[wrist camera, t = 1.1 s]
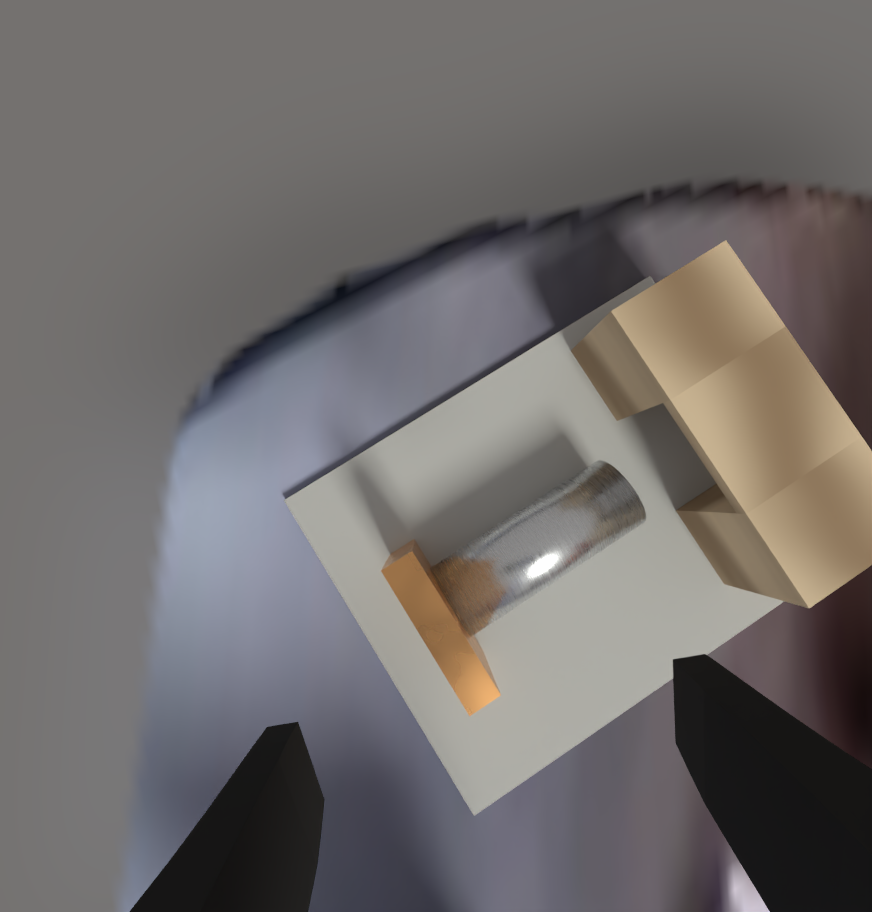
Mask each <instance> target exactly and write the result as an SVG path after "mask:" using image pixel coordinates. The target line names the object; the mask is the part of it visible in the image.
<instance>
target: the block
mask: <svg viewBox="0 0 872 912" xmlns="http://www.w3.org/2000/svg"><path fill="white" fill-rule="evenodd" d="M571 352H572V354H573V355H574V357H575V358H576V360H577V361H578V363H579V364H580V366H581V367H582V369H583V370H584V372H585V373H586V375H587V376H588V378H589V379H590V381H591V383H592V384H593V386H594V387H595V389H596V390H597V392H598V393H599V395H600V396H601V398H602V399H603V401H604V402H605V404H606V405H607V407H608V408H609V410H610V411H611V413H612V414H613V416H614V417H615V419H616V421H618V420H621V419H623V418H626V417H628V416H631V415H634V414H636V413H639V412H641V411H644V410H646V409H649V408H651V407H654V406H656V405H659V404H662V403H663V404H664V405H665V407H666V408H667V410H668V411H669V413H670V414H671V416H672V417H673V419H674V420H675V422H676V423H677V425H678V426H679V428H680V429H681V431H682V432H683V434H684V435H685V437H686V438H687V440H688V441H689V443H690V444H691V446H692V447H693V449H694V450H695V452H696V453H697V455H698V456H699V458H700V459H701V461H702V462H703V464H704V465H705V467H706V468H707V470H708V471H709V473H710V474H711V476H712V477H713V479H714V480H715V482H716V484H715V485H713V486H712V487H710V488H709V489H707V490H706V491H704V492H703V493H701V494H700V495H698V496H697V497H695V498H694V499H692V500H691V501H689V502H688V503H686V504H685V505H683V506H682V507H680V508H679V509H677V510H676V512H677V513H678V515H679V516H680V518H681V519H682V521H683V522H684V524H685V525H686V527H687V529H688V530H689V532H690V533H691V535H692V536H693V538H694V539H695V541H696V542H697V544H698V545H699V547H700V548H701V550H702V551H703V553H704V554H705V556H706V557H707V559H708V560H709V562H710V564H711V565H712V567H713V568H714V570H715V571H716V573H717V574H718V576H719V577H720V579H721V580H722V582H723V583H724V584H725V585H729V586H732V587H736V588H739V589H743V590H746V591H750V592H754V593H757V594H761V595H764V596H768V597H771V598H775V599H778V600H782V601H785V602H789V603H792V604H796V605H799V606H803V607H806V608H811V607H812V606H813V605H815V604H816V603H818V602H819V601H821V600H822V599H823V598H825V597H826V596H828V595H829V594H831V593H832V592H833V591H835V590H836V589H838V588H839V587H841V586H842V585H844V584H845V583H846V582H848V581H849V580H851V579H852V578H854V577H855V576H856V575H858V574H859V573H861V572H862V571H864V570H865V569H866V568H868V567H869V566H871V565H872V451H871V449H870V448H869V446H868V445H867V444H866V442H865V441H864V439H863V438H862V436H861V435H860V433H859V432H858V431H857V429H856V428H855V426H854V425H853V423H852V422H851V420H850V419H849V417H848V416H847V415H846V413H845V412H844V410H843V409H842V407H841V406H840V404H839V403H838V402H837V400H836V399H835V397H834V396H833V394H832V393H831V391H830V390H829V389H828V387H827V386H826V384H825V383H824V381H823V380H822V378H821V377H820V376H819V374H818V373H817V371H816V370H815V368H814V367H813V365H812V364H811V363H810V361H809V360H808V358H807V357H806V355H805V354H804V352H803V351H802V349H801V348H800V347H799V345H798V344H797V342H796V341H795V339H794V338H793V336H792V335H791V334H790V332H789V331H788V329H787V328H786V326H785V325H784V323H783V322H782V321H781V319H780V318H779V316H778V315H777V313H776V312H775V310H774V309H773V308H772V306H771V305H770V303H769V302H768V300H767V299H766V297H765V296H764V295H763V293H762V292H761V290H760V289H759V287H758V286H757V284H756V283H755V281H754V280H753V279H752V277H751V276H750V274H749V273H748V271H747V270H746V268H745V267H744V266H743V264H742V263H741V261H740V260H739V258H738V257H737V255H736V254H735V253H734V251H733V250H732V248H731V247H730V245H729V244H728V242H727V241H724V242H722V243H721V244H719V245H718V246H716V247H714V248H713V249H711V250H709V251H708V252H706V253H705V254H703V255H701V256H700V257H698V258H696V259H695V260H693V261H692V262H690V263H688V264H687V265H685V266H683V267H682V268H680V269H679V270H677V271H675V272H674V273H672V274H670V275H669V276H667V277H666V278H664V279H662V280H661V281H659V282H657V283H656V284H654V285H653V286H651V287H649V288H648V289H646V290H644V291H643V292H641V293H640V294H638V295H636V296H635V297H633V298H631V299H630V300H628V301H627V302H625V303H623V304H622V305H620V306H618V307H617V308H615V309H614V310H612V311H611V312H610V313H609V314H607V315H606V316H605V317H604V318H603V319H602V320H601V321H600V322H599V323H598V324H597V325H596V326H595V327H594V328H593V329H592V330H591V331H590V332H589V333H588V334H587V335H586V336H585V337H584V338H583V339H582V340H581V341H580V342H579V343H578V344H577V345H576V346H575V347H574V348H573V349H572V350H571Z"/></svg>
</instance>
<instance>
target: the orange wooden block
mask: <svg viewBox="0 0 872 912" xmlns="http://www.w3.org/2000/svg"><path fill="white" fill-rule="evenodd" d="M645 521H646V512H645V509H644V506H643V504H642V502H641V500H640V498H639V496H638V494H637V493H636V491H635V490H634V488H633V487H632V486H631V484H630V483H629V482H628V480H627V479H626V478H625V477H624V476H623V475H622V474H621V473H620V472H619V471H618V470H617V469H616V468H615V467H613V466H612V465H610V464H609V463H607V462H605V461H602V460H598V461H596V462H594V463H593V464H591V465H590V466H588V467H586V468H585V469H583V470H582V471H580V472H579V473H577V474H576V475H574V476H572V477H571V478H569V479H568V480H566V481H565V482H563V483H562V484H560V485H558V486H557V487H555V488H554V489H552V490H551V491H549V492H548V493H546V494H544V495H543V496H541V497H540V498H538V499H537V500H535V501H534V502H532V503H530V504H529V505H527V506H526V507H524V508H523V509H521V510H519V511H518V512H516V513H515V514H513V515H512V516H510V517H509V518H507V519H505V520H504V521H502V522H501V523H499V524H498V525H496V526H495V527H493V528H491V529H490V530H488V531H487V532H485V533H484V534H482V535H481V536H479V537H477V538H476V539H474V540H473V541H471V542H470V543H468V544H467V545H465V546H463V547H462V548H460V549H459V550H457V551H456V552H454V553H452V554H451V555H449V556H448V557H446V558H445V559H443V560H442V561H440V562H438V563H437V564H435V565H434V566H432V567H431V565H430V564H429V562H428V560H427V559H426V557H425V556H424V554H423V552H422V551H421V549H420V547H419V546H418V544H417V543H416V541H415V539H413V540H412V541H410V542H408V543H407V544H405V545H404V546H402V547H401V548H399V549H397V550H396V551H394V552H393V553H391V554H390V555H389V557H388V559H387V560H386V562H385V564H384V566H383V568H382V569H381V572H382V574H383V575H384V577H385V579H386V580H387V582H388V584H389V585H390V587H391V588H392V590H393V592H394V593H395V595H396V597H397V598H398V600H399V602H400V603H401V605H402V606H403V608H404V610H405V611H406V613H407V615H408V616H409V618H410V620H411V621H412V623H413V625H414V626H415V628H416V629H417V631H418V633H419V634H420V636H421V638H422V639H423V641H424V643H425V644H426V646H427V647H428V649H429V651H430V652H431V654H432V656H433V657H434V659H435V661H436V662H437V664H438V665H439V667H440V669H441V670H442V672H443V674H444V675H445V677H446V679H447V680H448V682H449V684H450V685H451V687H452V688H453V690H454V692H455V693H456V695H457V697H458V698H459V700H460V702H461V703H462V705H463V706H464V708H465V710H466V711H467V713H468V715H469V716H471V715H472V714H474V713H475V712H477V711H478V710H480V709H481V708H483V707H484V706H486V705H487V704H489V703H490V702H492V701H493V700H495V699H496V698H498V697H499V696H501V694H500V691H499V689H498V686H497V684H496V681H495V679H494V676H493V674H492V672H491V669H490V667H489V664H488V662H487V659H486V657H485V654H484V652H483V649H482V648H481V646H480V645H479V643H478V641H477V640H476V638H475V636H474V635H475V634H476V633H478V632H479V631H481V630H482V629H484V628H485V627H487V626H489V625H490V624H492V623H493V622H495V621H496V620H498V619H499V618H501V617H502V616H504V615H505V614H507V613H508V612H510V611H511V610H513V609H514V608H516V607H517V606H519V605H520V604H522V603H523V602H525V601H526V600H528V599H529V598H531V597H533V596H534V595H536V594H537V593H539V592H540V591H542V590H543V589H545V588H546V587H548V586H549V585H551V584H552V583H554V582H555V581H557V580H558V579H560V578H561V577H563V576H564V575H566V574H567V573H569V572H570V571H572V570H573V569H575V568H577V567H578V566H580V565H581V564H583V563H584V562H586V561H587V560H589V559H590V558H592V557H593V556H595V555H596V554H598V553H599V552H601V551H602V550H604V549H605V548H607V547H608V546H610V545H611V544H613V543H614V542H616V541H617V540H619V539H621V538H622V537H624V536H625V535H627V534H628V533H630V532H631V531H633V530H634V529H636V528H637V527H639V526H640V525H642V524H643V523H645Z"/></svg>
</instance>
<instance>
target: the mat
mask: <svg viewBox="0 0 872 912" xmlns="http://www.w3.org/2000/svg"><path fill="white" fill-rule="evenodd" d="M654 284H655V282H654V281H653V279H652V278H651V277H650V276H649V277H647V278H646V279H644V280H642V281H641V282H639V283H637V284H636V285H634V286H633V287H631V288H629V289H628V290H626V291H624V292H623V293H621V294H619V295H618V296H616V297H615V298H613V299H611V300H610V301H608V302H606V303H605V304H603V305H602V306H600V307H598V308H597V309H595V310H593V311H592V312H590V313H589V314H587V315H585V316H584V317H582V318H580V319H579V320H577V321H575V322H574V323H572V324H571V325H569V326H567V327H566V328H564V329H562V330H561V331H559V332H558V333H556V334H554V335H553V336H551V337H549V338H548V339H546V340H544V341H543V342H541V343H540V344H538V345H536V346H535V347H533V348H531V349H530V350H528V351H527V352H525V353H523V354H522V355H520V356H518V357H517V358H515V359H514V360H512V361H510V362H509V363H507V364H505V365H504V366H502V367H500V368H499V369H497V370H496V371H494V372H492V373H491V374H489V375H487V376H486V377H484V378H483V379H481V380H479V381H478V382H476V383H474V384H473V385H471V386H470V387H468V388H466V389H465V390H463V391H461V392H460V393H458V394H456V395H455V396H453V397H452V398H450V399H448V400H447V401H445V402H443V403H442V404H440V405H439V406H437V407H435V408H434V409H432V410H430V411H429V412H427V413H425V414H424V415H422V416H421V417H419V418H417V419H416V420H414V421H412V422H411V423H409V424H408V425H406V426H404V427H403V428H401V429H399V430H398V431H396V432H395V433H393V434H391V435H390V436H388V437H386V438H385V439H383V440H381V441H380V442H378V443H377V444H375V445H373V446H372V447H370V448H368V449H367V450H365V451H364V452H362V453H360V454H359V455H357V456H355V457H354V458H352V459H351V460H349V461H347V462H346V463H344V464H342V465H341V466H339V467H337V468H336V469H334V470H333V471H331V472H329V473H328V474H326V475H324V476H323V477H321V478H320V479H318V480H316V481H315V482H313V483H311V484H310V485H308V486H306V487H305V488H303V489H302V490H300V491H298V492H297V493H295V494H293V495H292V496H290V497H289V498H287V499H285V500H284V501H285V503H286V505H287V506H288V508H289V509H290V511H291V513H292V514H293V516H294V518H295V519H296V521H297V523H298V524H299V526H300V528H301V529H302V531H303V533H304V534H305V536H306V538H307V539H308V541H309V543H310V544H311V546H312V548H313V549H314V551H315V553H316V554H317V556H318V558H319V559H320V561H321V563H322V564H323V566H324V568H325V569H326V571H327V573H328V574H329V576H330V578H331V579H332V581H333V583H334V584H335V586H336V587H337V589H338V591H339V592H340V594H341V596H342V597H343V599H344V601H345V602H346V604H347V606H348V607H349V609H350V611H351V612H352V614H353V616H354V617H355V619H356V621H357V622H358V624H359V626H360V627H361V629H362V631H363V632H364V634H365V636H366V637H367V639H368V641H369V642H370V644H371V646H372V647H373V649H374V651H375V652H376V654H377V656H378V657H379V659H380V661H381V662H382V664H383V666H384V667H385V669H386V670H387V672H388V674H389V675H390V677H391V679H392V680H393V682H394V684H395V685H396V687H397V689H398V690H399V692H400V694H401V695H402V697H403V699H404V700H405V702H406V704H407V705H408V707H409V709H410V710H411V712H412V714H413V715H414V717H415V719H416V720H417V722H418V724H419V725H420V727H421V729H422V730H423V732H424V734H425V735H426V737H427V739H428V740H429V742H430V744H431V745H432V747H433V748H434V750H435V752H436V753H437V755H438V757H439V758H440V760H441V762H442V763H443V765H444V767H445V768H446V770H447V772H448V773H449V775H450V777H451V778H452V780H453V782H454V783H455V785H456V787H457V788H458V790H459V792H460V793H461V795H462V797H463V798H464V800H465V802H466V803H467V805H468V807H469V808H470V810H471V812H472V813H473V815H474V816H475V815H476V814H478V813H479V812H480V811H482V810H483V809H485V808H486V807H488V806H489V805H491V804H492V803H493V802H495V801H496V800H498V799H499V798H501V797H502V796H504V795H505V794H506V793H508V792H509V791H511V790H512V789H514V788H515V787H517V786H518V785H519V784H521V783H522V782H524V781H525V780H527V779H528V778H530V777H531V776H532V775H534V774H535V773H537V772H538V771H540V770H541V769H543V768H544V767H545V766H547V765H548V764H550V763H551V762H553V761H554V760H556V759H557V758H558V757H560V756H561V755H563V754H564V753H566V752H567V751H569V750H570V749H571V748H573V747H574V746H576V745H577V744H579V743H580V742H582V741H583V740H584V739H586V738H587V737H589V736H590V735H592V734H593V733H595V732H596V731H597V730H599V729H600V728H602V727H603V726H605V725H606V724H608V723H609V722H611V721H612V720H613V719H615V718H616V717H618V716H619V715H621V714H622V713H624V712H625V711H626V710H628V709H629V708H631V707H632V706H634V705H635V704H637V703H638V702H639V701H641V700H642V699H644V698H645V697H647V696H648V695H650V694H651V693H652V692H654V691H655V690H657V689H658V688H660V687H661V686H663V685H664V684H665V683H667V682H668V681H670V680H671V679H673V659H678V658H684V657H690V656H696V655H702V654H706V655H707V654H709V653H710V652H712V651H713V650H715V649H716V648H717V647H719V646H720V645H722V644H723V643H725V642H726V641H728V640H729V639H730V638H732V637H733V636H735V635H736V634H738V633H739V632H741V631H742V630H743V629H745V628H746V627H748V626H749V625H751V624H752V623H754V622H755V621H756V620H758V619H759V618H761V617H762V616H764V615H765V614H767V613H768V612H769V611H771V610H772V609H774V608H775V607H777V606H778V605H780V604H781V603H783V602H784V601H782V600H778V599H775V598H771V597H768V596H764V595H761V594H757V593H754V592H750V591H746V590H743V589H739V588H736V587H732V586H729V585H725V584H724V583H723V582H722V580H721V579H720V577H719V576H718V574H717V573H716V571H715V570H714V568H713V567H712V565H711V564H710V562H709V560H708V559H707V557H706V556H705V554H704V553H703V551H702V550H701V548H700V547H699V545H698V544H697V542H696V541H695V539H694V538H693V536H692V535H691V533H690V532H689V530H688V529H687V527H686V525H685V524H684V522H683V521H682V519H681V518H680V516H679V515H678V513H677V512H676V510H677V509H679V508H680V507H682V506H683V505H685V504H686V503H688V502H689V501H691V500H692V499H694V498H695V497H697V496H698V495H700V494H701V493H703V492H704V491H706V490H707V489H709V488H710V487H712V486H713V485H715V484H716V482H715V480H714V479H713V477H712V476H711V474H710V473H709V471H708V470H707V468H706V467H705V465H704V464H703V462H702V461H701V459H700V458H699V456H698V455H697V453H696V452H695V450H694V449H693V447H692V446H691V444H690V443H689V441H688V440H687V438H686V437H685V435H684V434H683V432H682V431H681V429H680V428H679V426H678V425H677V423H676V422H675V420H674V419H673V417H672V416H671V414H670V413H669V411H668V410H667V408H666V407H665V405H664V404H663V403H662V404H659V405H656V406H654V407H651V408H649V409H646V410H644V411H641V412H639V413H636V414H634V415H631V416H628V417H626V418H623V419H621V420H618V421H616V419H615V417H614V416H613V414H612V413H611V411H610V410H609V408H608V407H607V405H606V404H605V402H604V401H603V399H602V398H601V396H600V395H599V393H598V392H597V390H596V389H595V387H594V386H593V384H592V383H591V381H590V379H589V378H588V376H587V375H586V373H585V372H584V370H583V369H582V367H581V366H580V364H579V363H578V361H577V360H576V358H575V357H574V355H573V354H572V352H571V350H572V349H573V348H574V347H575V346H576V345H577V344H578V343H579V342H580V341H581V340H582V339H583V338H584V337H585V336H586V335H587V334H588V333H589V332H590V331H591V330H592V329H593V328H594V327H595V326H596V325H597V324H598V323H599V322H600V321H601V320H602V319H603V318H604V317H605V316H606V315H607V314H609V313H610V312H611V311H612V310H614V309H615V308H617V307H618V306H620V305H622V304H623V303H625V302H627V301H628V300H630V299H631V298H633V297H635V296H636V295H638V294H640V293H641V292H643V291H644V290H646V289H648V288H649V287H651V286H653V285H654ZM598 460H602V461H605V462H607V463H609V464H610V465H612V466H613V467H615V468H616V469H617V470H618V471H619V472H620V473H621V474H622V475H623V476H624V477H625V478H626V479H627V480H628V482H629V483H630V484H631V486H632V487H633V488H634V490H635V491H636V493H637V494H638V496H639V498H640V500H641V502H642V504H643V506H644V509H645V512H646V521H645V523H643V524H642V525H640V526H639V527H637V528H636V529H634V530H633V531H631V532H630V533H628V534H627V535H625V536H624V537H622V538H621V539H619V540H617V541H616V542H614V543H613V544H611V545H610V546H608V547H607V548H605V549H604V550H602V551H601V552H599V553H598V554H596V555H595V556H593V557H592V558H590V559H589V560H587V561H586V562H584V563H583V564H581V565H580V566H578V567H577V568H575V569H573V570H572V571H570V572H569V573H567V574H566V575H564V576H563V577H561V578H560V579H558V580H557V581H555V582H554V583H552V584H551V585H549V586H548V587H546V588H545V589H543V590H542V591H540V592H539V593H537V594H536V595H534V596H533V597H531V598H529V599H528V600H526V601H525V602H523V603H522V604H520V605H519V606H517V607H516V608H514V609H513V610H511V611H510V612H508V613H507V614H505V615H504V616H502V617H501V618H499V619H498V620H496V621H495V622H493V623H492V624H490V625H489V626H487V627H485V628H484V629H482V630H481V631H479V632H478V633H476V634H475V635H474V636H475V638H476V640H477V641H478V643H479V645H480V646H481V648H482V649H483V652H484V654H485V657H486V659H487V662H488V664H489V667H490V669H491V672H492V674H493V676H494V679H495V681H496V684H497V686H498V689H499V691H500V694H501V696H499V697H498V698H496V699H495V700H493V701H492V702H490V703H489V704H487V705H486V706H484V707H483V708H481V709H480V710H478V711H477V712H475V713H474V714H472V715H471V716H469V715H468V713H467V711H466V710H465V708H464V706H463V705H462V703H461V702H460V700H459V698H458V697H457V695H456V693H455V692H454V690H453V688H452V687H451V685H450V684H449V682H448V680H447V679H446V677H445V675H444V674H443V672H442V670H441V669H440V667H439V665H438V664H437V662H436V661H435V659H434V657H433V656H432V654H431V652H430V651H429V649H428V647H427V646H426V644H425V643H424V641H423V639H422V638H421V636H420V634H419V633H418V631H417V629H416V628H415V626H414V625H413V623H412V621H411V620H410V618H409V616H408V615H407V613H406V611H405V610H404V608H403V606H402V605H401V603H400V602H399V600H398V598H397V597H396V595H395V593H394V592H393V590H392V588H391V587H390V585H389V584H388V582H387V580H386V579H385V577H384V575H383V574H382V572H381V569H382V568H383V566H384V564H385V562H386V560H387V559H388V557H389V555H390V554H391V553H393V552H394V551H396V550H397V549H399V548H401V547H402V546H404V545H405V544H407V543H408V542H410V541H412V540H413V539H415V541H416V543H417V544H418V546H419V547H420V549H421V551H422V552H423V554H424V556H425V557H426V559H427V560H428V562H429V564H430V565H431V567H432V566H434V565H435V564H437V563H438V562H440V561H442V560H443V559H445V558H446V557H448V556H449V555H451V554H452V553H454V552H456V551H457V550H459V549H460V548H462V547H463V546H465V545H467V544H468V543H470V542H471V541H473V540H474V539H476V538H477V537H479V536H481V535H482V534H484V533H485V532H487V531H488V530H490V529H491V528H493V527H495V526H496V525H498V524H499V523H501V522H502V521H504V520H505V519H507V518H509V517H510V516H512V515H513V514H515V513H516V512H518V511H519V510H521V509H523V508H524V507H526V506H527V505H529V504H530V503H532V502H534V501H535V500H537V499H538V498H540V497H541V496H543V495H544V494H546V493H548V492H549V491H551V490H552V489H554V488H555V487H557V486H558V485H560V484H562V483H563V482H565V481H566V480H568V479H569V478H571V477H572V476H574V475H576V474H577V473H579V472H580V471H582V470H583V469H585V468H586V467H588V466H590V465H591V464H593V463H594V462H596V461H598Z"/></svg>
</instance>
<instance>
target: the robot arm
mask: <svg viewBox="0 0 872 912" xmlns="http://www.w3.org/2000/svg"><path fill="white" fill-rule="evenodd" d="M673 683H674V710H675V738H676V744H677V747H678V749H679V751H680V753H681V755H682V757H683V759H684V762H685V764H686V766H687V768H688V770H689V772H690V774H691V776H692V778H693V780H694V783H695V785H696V787H697V789H698V791H699V793H700V795H701V797H702V799H703V801H704V803H705V805H706V806H707V808H708V810H709V811H710V813H711V815H712V817H713V818H714V820H715V822H716V823H717V825H718V827H719V828H720V830H721V832H722V833H723V835H724V837H725V838H726V840H727V842H728V843H729V845H730V847H731V848H732V850H733V852H734V853H735V855H736V857H737V858H738V860H739V862H740V863H741V865H742V866H743V868H744V870H745V871H746V873H747V875H748V876H749V878H750V880H751V881H752V883H753V885H754V886H755V888H756V890H757V891H758V893H759V894H760V896H761V898H762V899H763V901H764V903H765V904H766V906H767V908H768V909H769V911H770V912H872V769H870V768H869V767H867V766H866V765H864V764H863V763H861V762H860V761H858V760H857V759H855V758H854V757H852V756H851V755H849V754H847V753H846V752H844V751H843V750H842V749H840V748H839V747H837V746H836V745H834V744H833V743H831V742H830V741H828V740H827V739H825V738H824V737H822V736H821V735H819V734H818V733H816V732H815V731H813V730H812V729H810V728H809V727H808V726H806V725H805V724H803V723H802V722H800V721H799V720H797V719H796V718H795V717H793V716H792V715H790V714H789V713H787V712H786V711H785V710H783V709H782V708H780V707H779V706H777V705H776V704H775V703H773V702H772V701H770V700H769V699H768V698H766V697H765V696H763V695H762V694H761V693H759V692H758V691H756V690H755V689H754V688H752V687H751V686H749V685H748V684H747V683H745V682H744V681H742V680H741V679H740V678H738V677H737V676H735V675H734V674H733V673H731V672H730V671H728V670H727V669H726V668H724V667H723V666H721V665H720V664H719V663H717V662H716V661H714V660H713V659H712V658H710V657H709V656H707V655H706V654H702V655H696V656H690V657H684V658H678V659H673ZM323 809H324V797H323V794H322V791H321V788H320V785H319V783H318V780H317V777H316V774H315V771H314V768H313V765H312V762H311V759H310V756H309V753H308V750H307V747H306V744H305V741H304V738H303V735H302V732H301V729H300V727H299V724H298V722H295V723H289V724H283V725H277V726H271V727H267V728H266V729H265V731H264V732H263V733H262V735H261V736H260V737H259V739H258V740H257V741H256V743H255V744H254V746H253V747H252V748H251V750H250V751H249V753H248V754H247V755H246V757H245V758H244V759H243V761H242V762H241V764H240V765H239V767H238V768H237V769H236V771H235V772H234V774H233V775H232V776H231V778H230V779H229V781H228V782H227V783H226V785H225V786H224V788H223V789H222V790H221V792H220V793H219V794H218V796H217V797H216V799H215V800H214V801H213V803H212V804H211V806H210V807H209V808H208V810H207V811H206V812H205V814H204V815H203V816H202V818H201V819H200V821H199V822H198V823H197V825H196V826H195V827H194V829H193V830H192V831H191V833H190V834H189V835H188V837H187V838H186V839H185V841H184V842H183V844H182V845H181V846H180V848H179V849H178V850H177V852H176V853H175V854H174V856H173V857H172V858H171V860H170V861H169V862H168V864H167V865H166V866H165V867H164V869H163V870H162V871H161V872H160V874H159V875H158V876H157V878H156V879H155V880H154V881H153V883H152V884H151V885H150V886H149V888H148V889H147V890H146V892H145V893H144V894H143V895H142V897H141V898H140V899H139V900H138V902H137V903H136V904H135V905H134V907H133V908H132V909H131V911H130V912H308V909H309V904H310V899H311V894H312V889H313V884H314V879H315V874H316V869H317V863H318V855H319V847H320V838H321V829H322V819H323Z"/></svg>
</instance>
